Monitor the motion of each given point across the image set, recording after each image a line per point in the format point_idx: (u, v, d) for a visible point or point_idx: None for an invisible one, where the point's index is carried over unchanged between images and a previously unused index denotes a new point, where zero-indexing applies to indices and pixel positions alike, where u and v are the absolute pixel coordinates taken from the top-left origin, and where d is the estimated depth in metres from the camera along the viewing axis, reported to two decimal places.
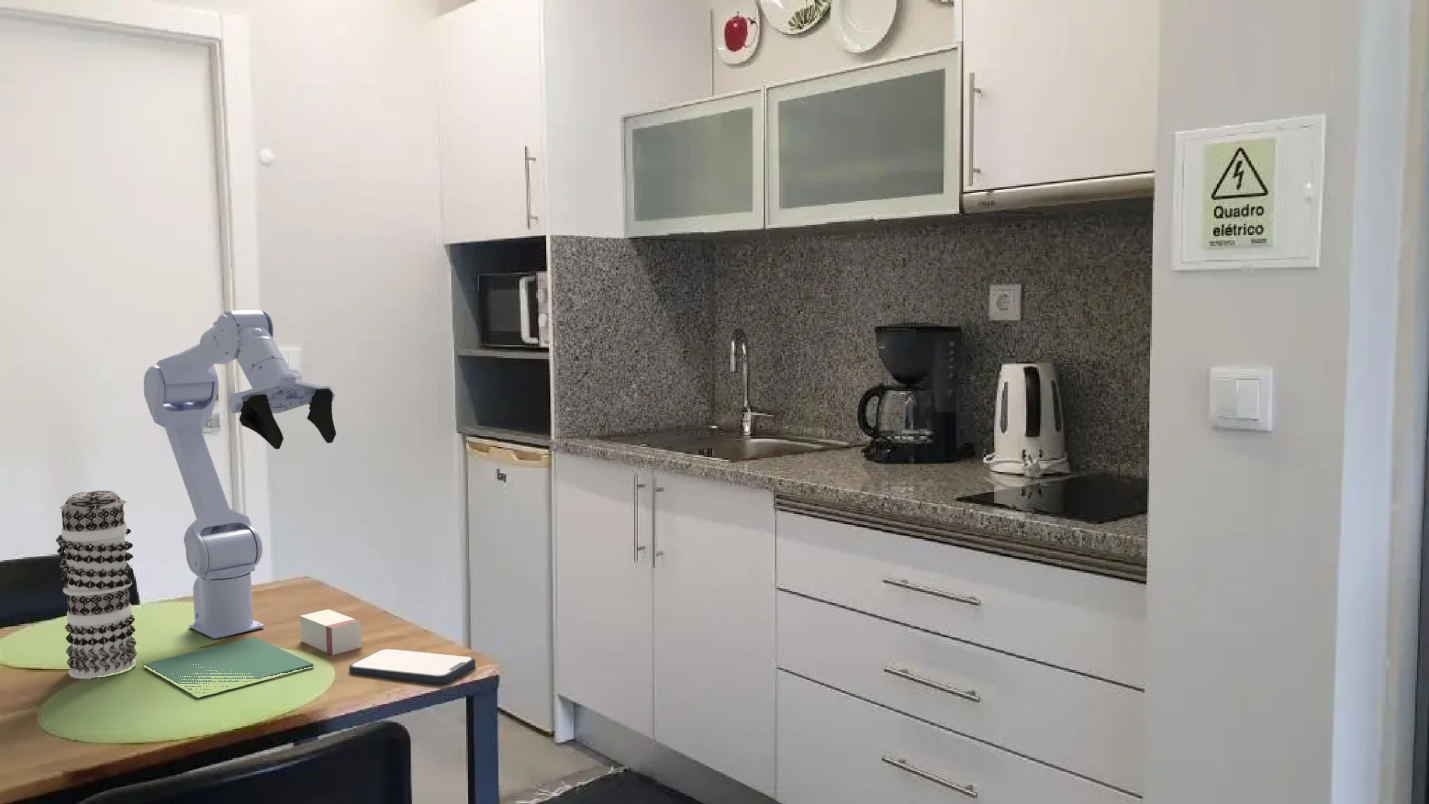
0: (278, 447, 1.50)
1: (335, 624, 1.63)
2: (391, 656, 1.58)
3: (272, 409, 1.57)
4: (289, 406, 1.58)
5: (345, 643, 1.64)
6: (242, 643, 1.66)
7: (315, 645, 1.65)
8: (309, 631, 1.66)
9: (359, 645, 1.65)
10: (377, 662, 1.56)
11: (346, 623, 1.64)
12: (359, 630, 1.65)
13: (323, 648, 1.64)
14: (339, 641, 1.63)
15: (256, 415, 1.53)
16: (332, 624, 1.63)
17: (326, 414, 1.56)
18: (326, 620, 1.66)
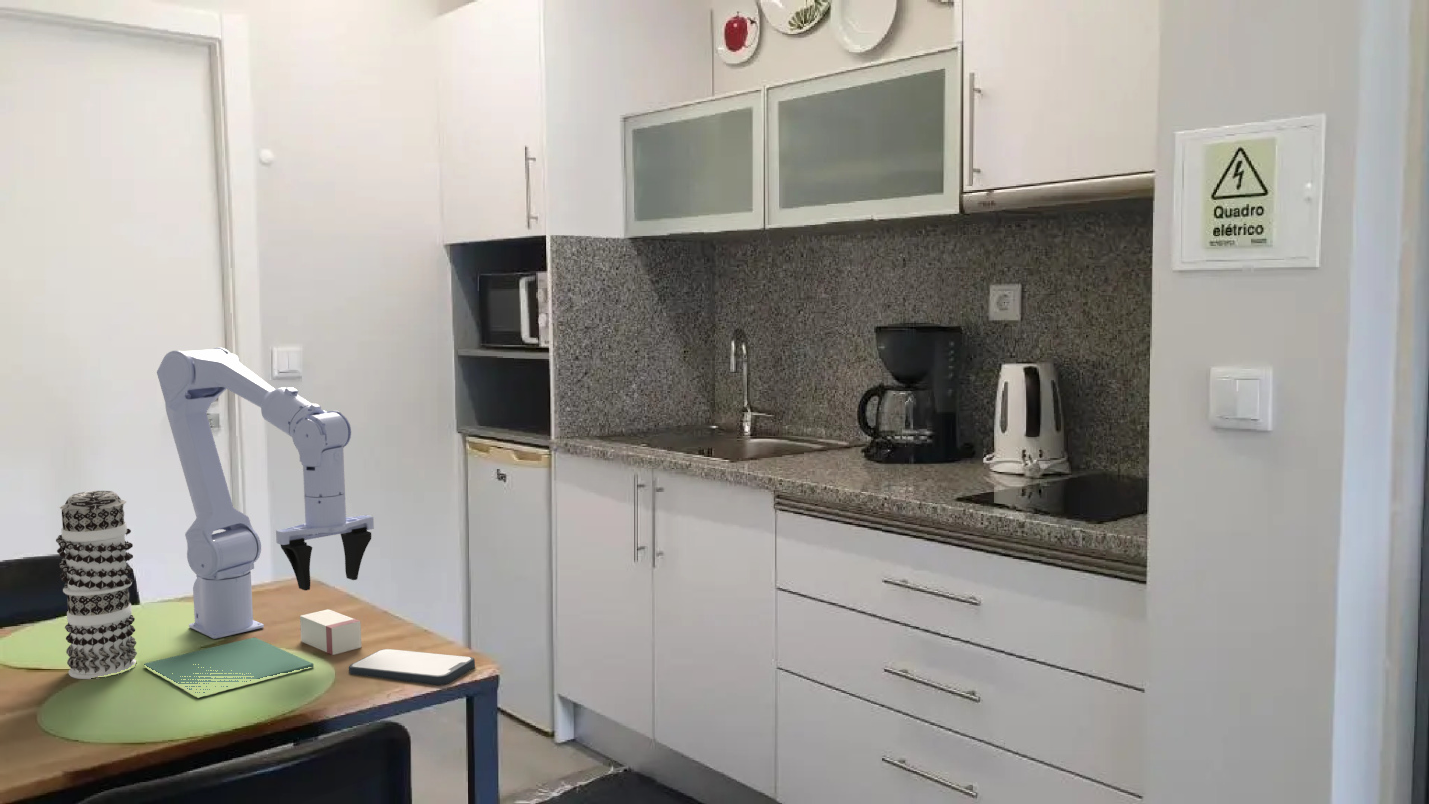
0: None
1: (335, 624, 1.63)
2: (390, 656, 1.58)
3: None
4: None
5: (345, 643, 1.64)
6: (242, 643, 1.66)
7: (315, 645, 1.65)
8: (309, 631, 1.66)
9: (359, 645, 1.65)
10: (377, 663, 1.56)
11: (346, 623, 1.64)
12: (359, 630, 1.65)
13: (323, 648, 1.64)
14: (339, 641, 1.63)
15: None
16: (332, 624, 1.63)
17: (356, 560, 1.67)
18: (326, 620, 1.66)
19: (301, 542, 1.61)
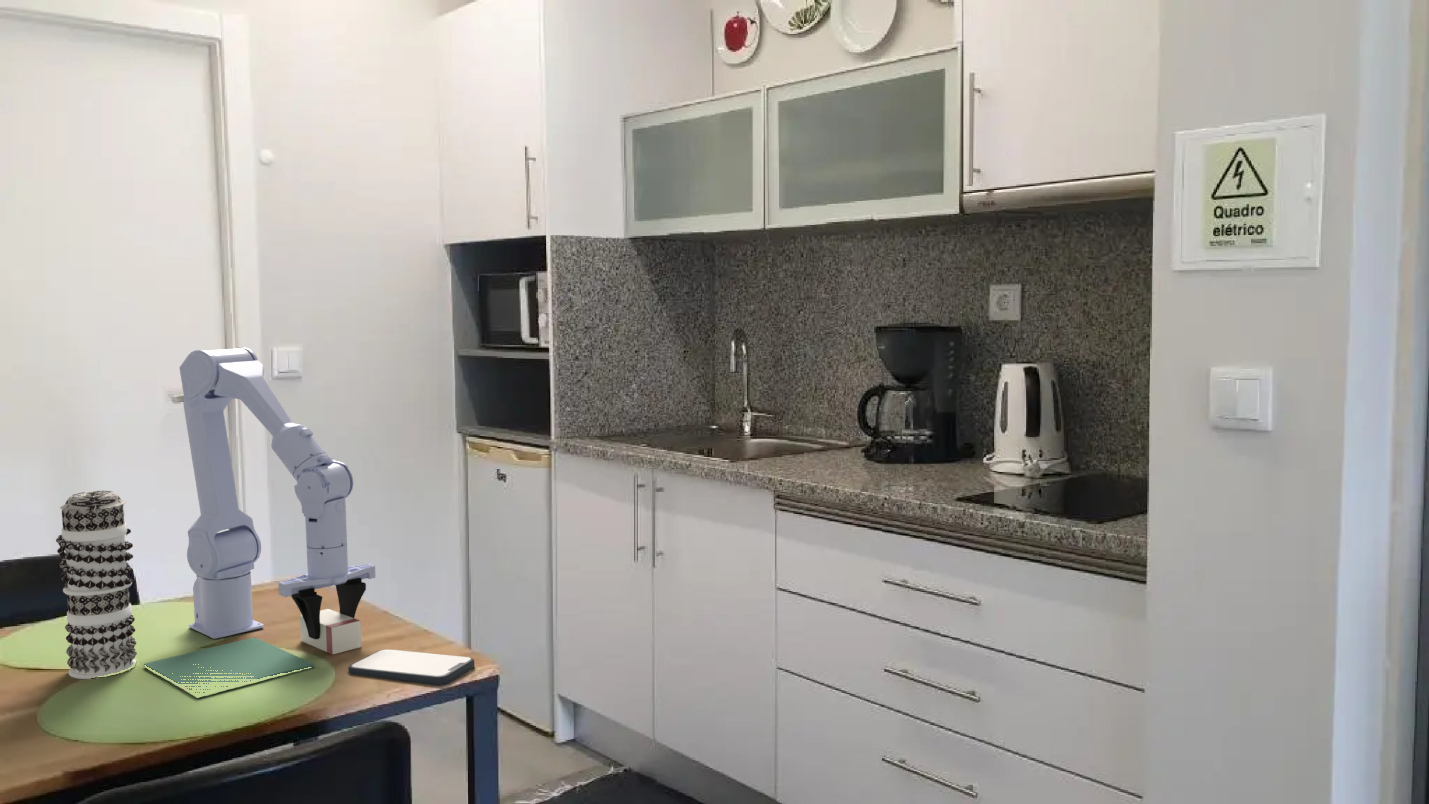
0: None
1: (335, 624, 1.63)
2: (390, 656, 1.58)
3: None
4: None
5: (345, 642, 1.63)
6: (242, 643, 1.66)
7: (315, 645, 1.65)
8: None
9: (359, 645, 1.65)
10: (377, 663, 1.56)
11: (346, 623, 1.64)
12: (359, 630, 1.65)
13: (323, 648, 1.64)
14: (339, 641, 1.63)
15: None
16: (332, 624, 1.63)
17: (351, 611, 1.67)
18: (326, 620, 1.66)
19: (311, 592, 1.63)
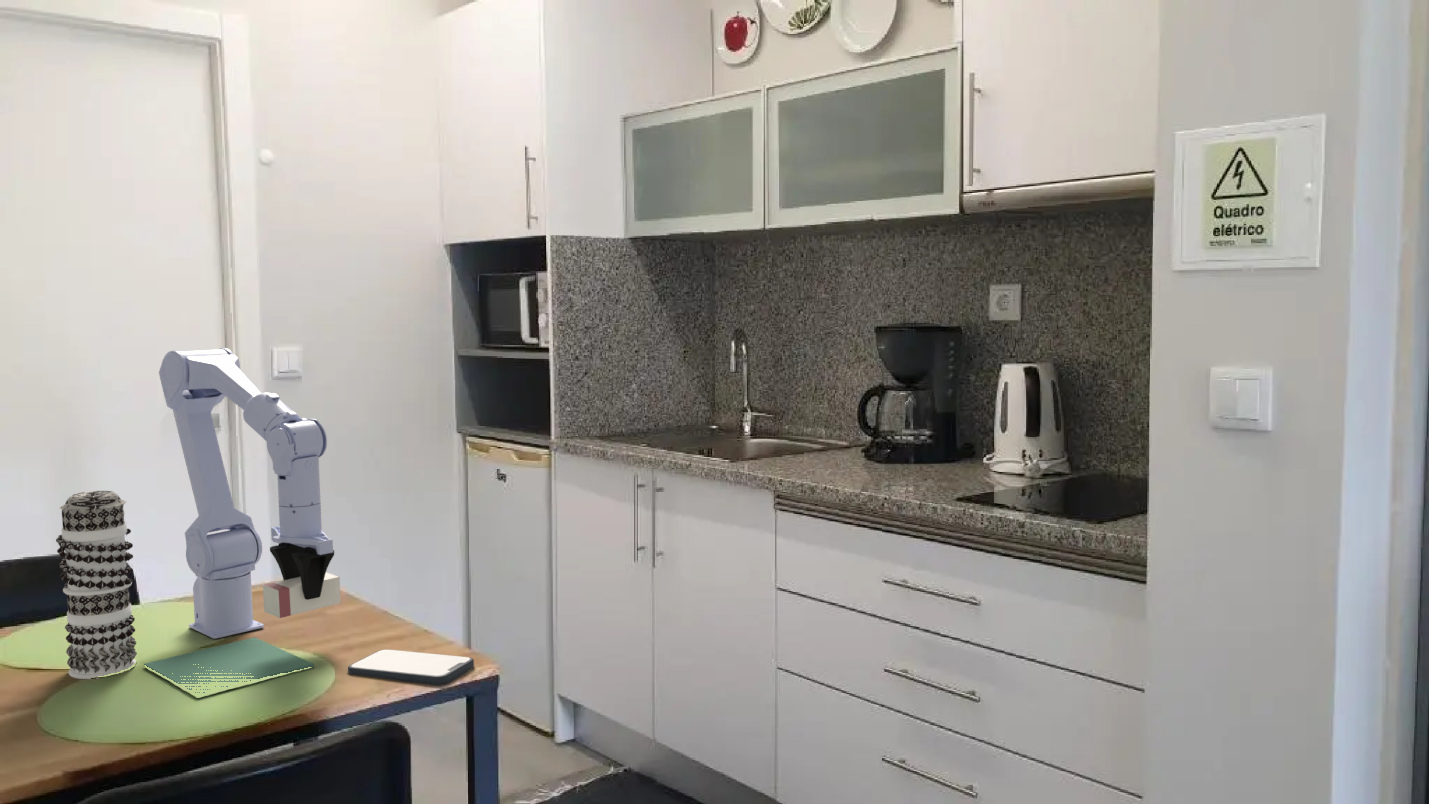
0: None
1: (275, 584, 1.61)
2: (389, 656, 1.58)
3: None
4: None
5: (270, 606, 1.60)
6: (242, 643, 1.66)
7: None
8: None
9: (278, 615, 1.58)
10: (376, 663, 1.56)
11: (273, 587, 1.59)
12: (277, 599, 1.58)
13: None
14: (267, 601, 1.60)
15: None
16: (275, 583, 1.61)
17: (301, 579, 1.60)
18: (295, 580, 1.63)
19: (285, 544, 1.64)
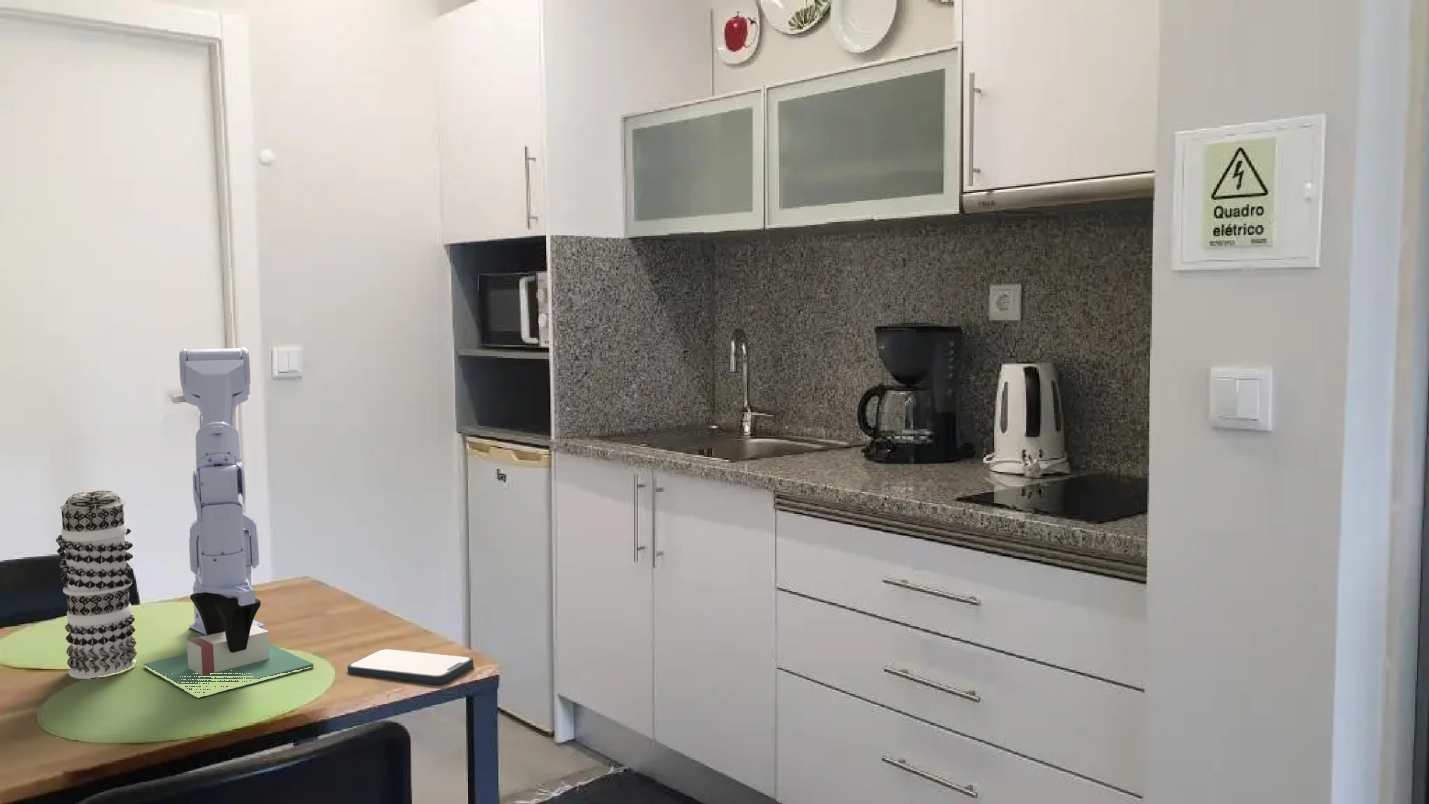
0: None
1: (199, 639, 1.54)
2: (389, 656, 1.58)
3: None
4: None
5: (194, 662, 1.53)
6: None
7: None
8: None
9: (201, 672, 1.52)
10: (376, 662, 1.56)
11: (196, 643, 1.53)
12: (200, 656, 1.52)
13: None
14: (190, 657, 1.54)
15: None
16: (199, 638, 1.55)
17: (225, 631, 1.53)
18: (221, 635, 1.56)
19: (206, 591, 1.58)
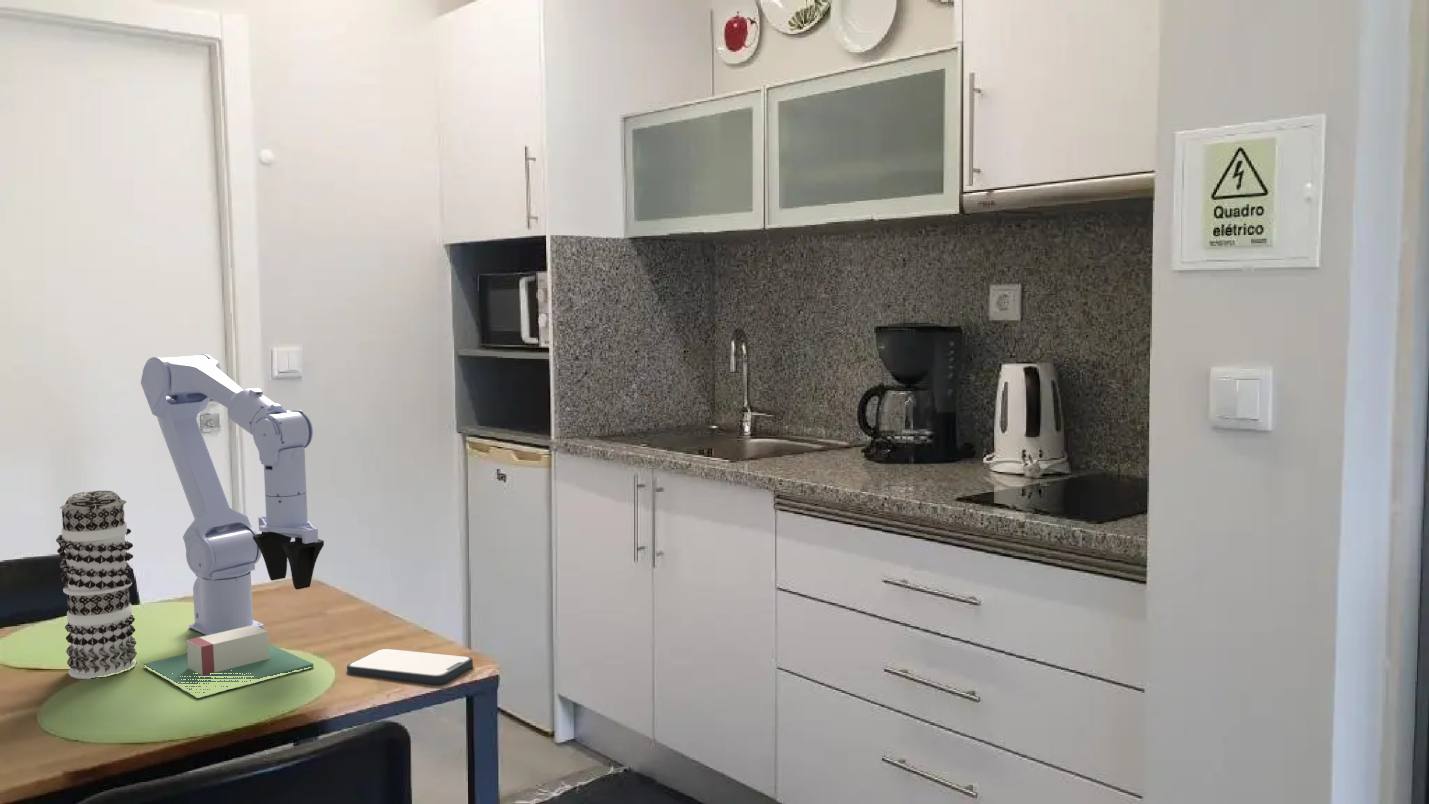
0: (282, 578, 1.69)
1: (199, 639, 1.54)
2: (389, 656, 1.58)
3: None
4: None
5: (194, 662, 1.53)
6: None
7: None
8: None
9: (201, 672, 1.52)
10: (375, 662, 1.56)
11: (196, 643, 1.53)
12: (200, 656, 1.52)
13: None
14: (190, 657, 1.54)
15: None
16: (199, 638, 1.55)
17: (291, 569, 1.62)
18: (221, 635, 1.56)
19: (268, 532, 1.67)
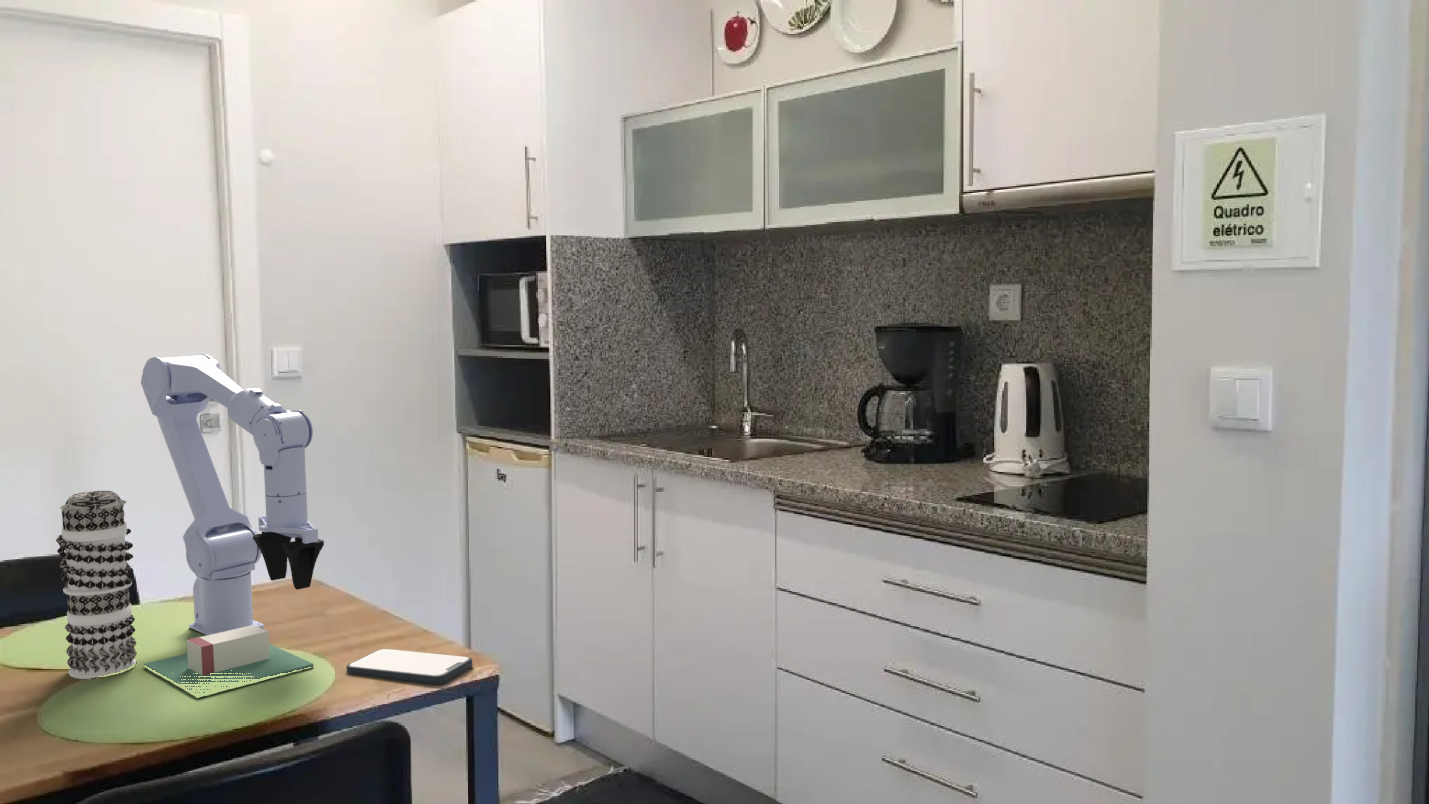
0: (282, 578, 1.69)
1: (199, 639, 1.54)
2: (388, 656, 1.58)
3: None
4: None
5: (194, 662, 1.53)
6: None
7: None
8: None
9: (201, 672, 1.52)
10: (375, 662, 1.56)
11: (196, 643, 1.53)
12: (200, 656, 1.52)
13: None
14: (190, 657, 1.54)
15: None
16: (199, 638, 1.55)
17: (291, 569, 1.62)
18: (221, 635, 1.56)
19: (268, 532, 1.67)
